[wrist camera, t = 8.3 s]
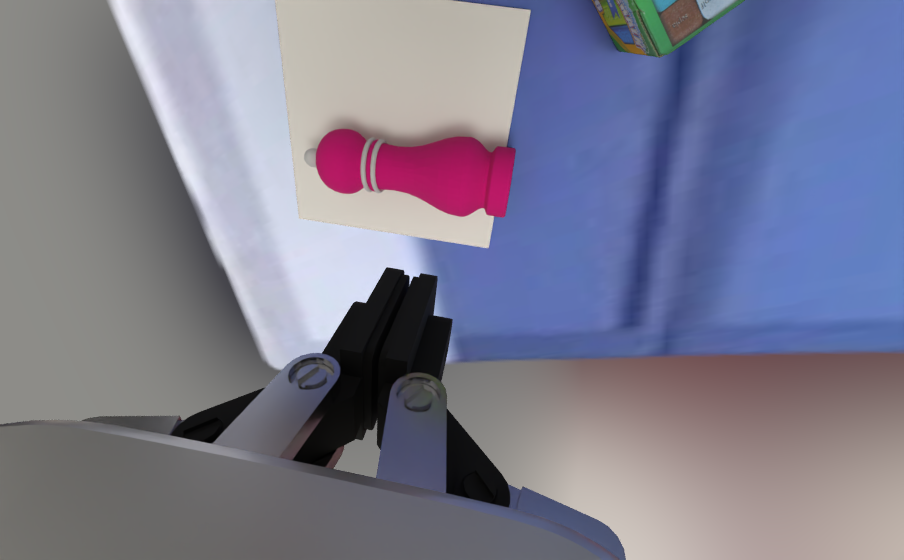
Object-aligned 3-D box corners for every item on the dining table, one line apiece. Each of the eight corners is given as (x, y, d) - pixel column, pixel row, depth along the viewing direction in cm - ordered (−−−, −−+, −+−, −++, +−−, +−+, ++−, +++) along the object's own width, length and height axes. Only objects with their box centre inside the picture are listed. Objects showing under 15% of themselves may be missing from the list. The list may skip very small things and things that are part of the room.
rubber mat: (275, -21, 33) (272, -22, 33) (530, 10, 32) (530, 10, 32) (301, 216, 45) (299, 218, 44) (488, 246, 44) (488, 248, 43)
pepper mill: (509, 183, 40) (328, 159, 42) (519, 125, 34) (306, 99, 36) (501, 238, 37) (303, 209, 39) (511, 183, 31) (275, 152, 33)
